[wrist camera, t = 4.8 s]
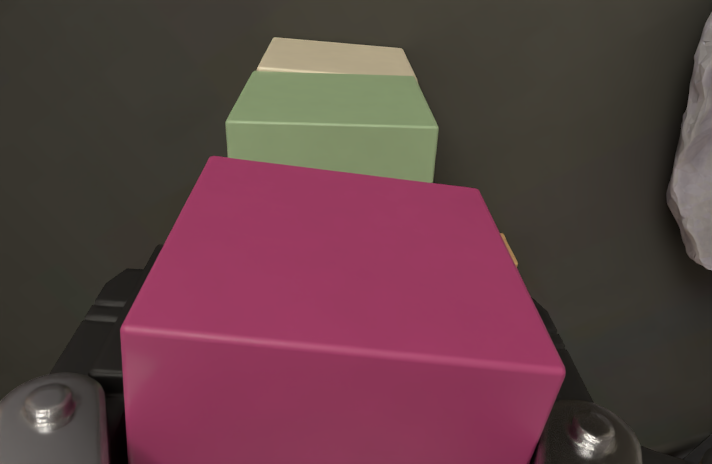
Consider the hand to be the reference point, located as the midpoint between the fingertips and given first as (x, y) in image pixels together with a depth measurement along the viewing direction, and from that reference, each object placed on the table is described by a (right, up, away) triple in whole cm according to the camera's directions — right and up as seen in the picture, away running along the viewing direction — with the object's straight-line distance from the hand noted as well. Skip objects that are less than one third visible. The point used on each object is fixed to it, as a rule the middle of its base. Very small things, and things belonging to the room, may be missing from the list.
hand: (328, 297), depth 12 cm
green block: (0, +4, +8) cm, 9 cm away
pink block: (0, 0, 0) cm, 1 cm away
